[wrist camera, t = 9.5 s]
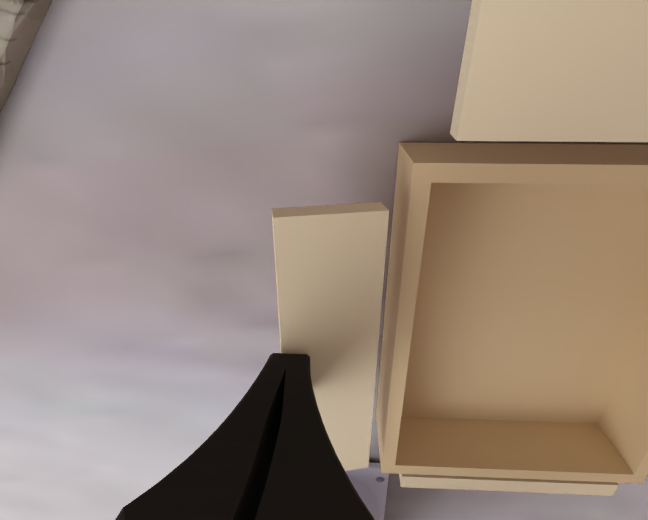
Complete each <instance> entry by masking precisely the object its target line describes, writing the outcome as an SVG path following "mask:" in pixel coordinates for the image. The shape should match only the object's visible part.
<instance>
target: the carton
mask: <svg viewBox="0 0 648 520" xmlns="http://www.w3.org/2000/svg"><path fill="white" fill-rule="evenodd" d="M376 423H377V433H378V444H379V455H380V465H381V473H392V474H399V479H400V486H401V487H409V488H433V489H457V490H481V491H506V492H530V493H554V494H578V495H602V496H613V495H614V493H615V491H616V489H617V488H618V486H619V485H618V483H641V484H643V482H644V480H645V479H646V477H647V475H648V144H531V143H402V142H399V149H398V161H397V172H396V184H395V196H394V207H393V219H392V231H391V242H390V254H389V266H388V277H387V289H386V301H385V313H384V324H383V336H382V348H381V359H380V371H379V383H378V394H377V406H376Z"/></svg>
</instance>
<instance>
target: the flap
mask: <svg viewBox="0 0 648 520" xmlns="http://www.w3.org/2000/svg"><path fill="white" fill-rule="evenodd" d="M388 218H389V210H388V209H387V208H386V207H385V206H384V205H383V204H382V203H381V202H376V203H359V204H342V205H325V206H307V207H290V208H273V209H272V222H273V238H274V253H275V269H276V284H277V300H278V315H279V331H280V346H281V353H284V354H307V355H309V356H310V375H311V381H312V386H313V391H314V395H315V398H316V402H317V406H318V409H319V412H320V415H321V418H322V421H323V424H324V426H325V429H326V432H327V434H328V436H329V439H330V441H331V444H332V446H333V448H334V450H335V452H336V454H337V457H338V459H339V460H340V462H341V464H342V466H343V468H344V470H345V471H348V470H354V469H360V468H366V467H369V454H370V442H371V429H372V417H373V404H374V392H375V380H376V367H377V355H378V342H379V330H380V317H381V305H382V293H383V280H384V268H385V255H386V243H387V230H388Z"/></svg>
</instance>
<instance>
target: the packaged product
mask: <svg viewBox="0 0 648 520" xmlns="http://www.w3.org/2000/svg"><path fill="white" fill-rule="evenodd" d="M51 1H52V0H0V112H1V110H2V108H3V106H4V104H5V102H6V100H7V98H8V96H9V94H10V92H11V90H12V88H13V86H14V84H15V82H16V79H17V76H18V74H19V72H20V69H21V67H22V65H23V63H24V60H25V58H26V56H27V54H28V51H29V49H30V47H31V45H32V43H33V40H34V38H35V36H36V34H37V31H38V29H39V27H40V25H41V23H42V21H43V19H44V16H45V14H46V12H47V10H48V8H49V6H50V4H51Z"/></svg>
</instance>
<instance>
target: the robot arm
mask: <svg viewBox="0 0 648 520" xmlns="http://www.w3.org/2000/svg"><path fill="white" fill-rule="evenodd" d="M388 480H389V473H381V465H380V463H369V467H366V468H360V469H354V470H348V471H345V470H344V468H343V466H342V464H341V462H340V460H339V459H338V457H337V454H336V452H335V450H334V448H333V446H332V444H331V441H330V439H329V436H328V434H327V432H326V429H325V426H324V424H323V421H322V418H321V415H320V412H319V409H318V406H317V402H316V398H315V395H314V391H313V386H312V381H311V375H310V356H309V355H307V354H284V353H273V354H272V355H270V357H269V359H268V361H267V362H266V364H265V366H264V367H263V369H262V371H261V372H260V374H259V375H258V377H257V379H256V380H255V382H254V383H253V384H252V386H251V387H250V389H249V390H248V392H247V393H246V394H245V396H244V397H243V398H242V400H241V401H240V402H239V404H238V405H237V406H236V407H235V409H234V410H233V411H232V412H231V414H230V415H229V416H228V417H227V418H226V420H225V421H224V422H223V423H222V424H221V425H220V426H219V427H218V429H217V430H216V431H215V432H214V433H213V434H212V435H211V436H210V437H209V438H208V439H207V440H206V441H205V442H204V443H203V444H202V445H201V446H200V447H199V448H198V449H197V450H196V451H195V452H194V453H193V454H192V455H190V456H189V457H188V458H187V459H186V460H185V461H184V462H183V463H181V464H180V465H179V466H178V467H177V468H175V469H174V470H173V471H172V472H171V473H169V474H168V475H167V476H166V477H165V478H163V479H162V480H161V481H160V482H158V483H157V484H156V485H154V486H153V487H152V488H150V489H149V490H147V491H146V492H145V493H143V494H142V495H140V496H139V497H138V498H136V499H135V500H134V501H132V502H131V503H129V504H128V505H126V506H125V507H123V509H122V510H121V512H120V513H119V515H118V516H117V518H116V520H384V513H385V505H386V497H387V488H388Z"/></svg>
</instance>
